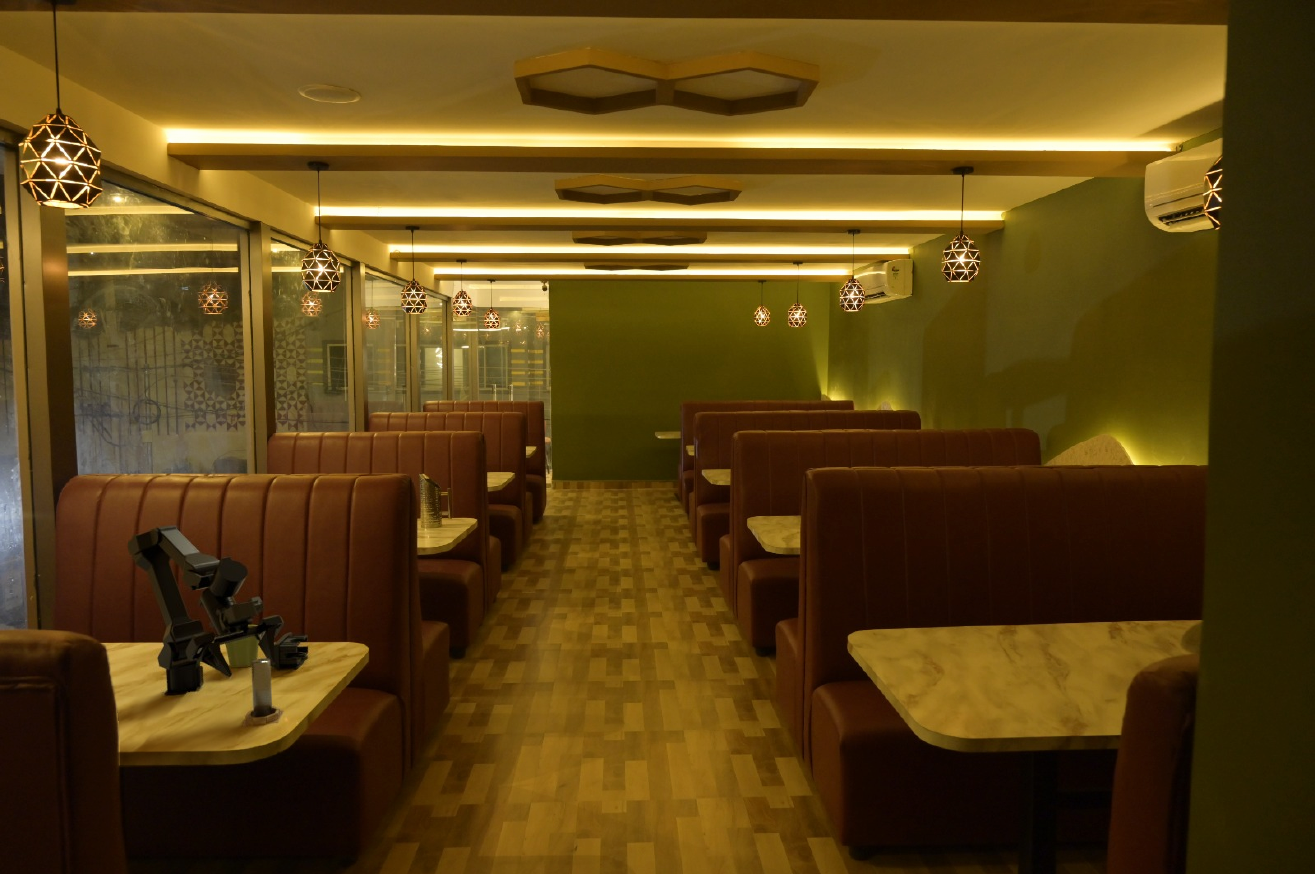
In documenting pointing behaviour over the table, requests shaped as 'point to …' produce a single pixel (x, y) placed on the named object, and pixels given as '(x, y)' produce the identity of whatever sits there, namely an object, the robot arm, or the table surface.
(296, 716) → the table surface
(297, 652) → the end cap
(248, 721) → the ring stand
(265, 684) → the peg
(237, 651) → the plant pot
